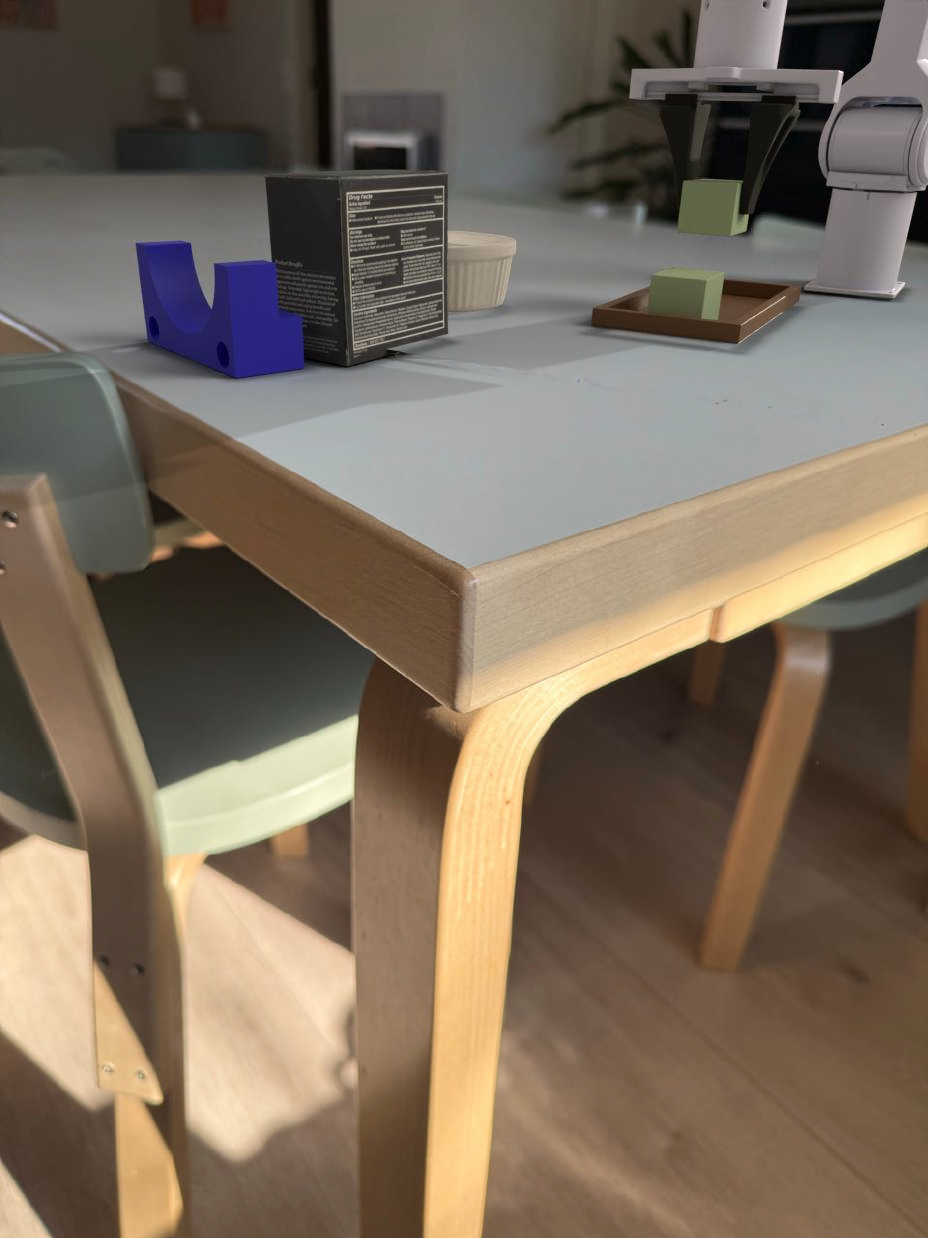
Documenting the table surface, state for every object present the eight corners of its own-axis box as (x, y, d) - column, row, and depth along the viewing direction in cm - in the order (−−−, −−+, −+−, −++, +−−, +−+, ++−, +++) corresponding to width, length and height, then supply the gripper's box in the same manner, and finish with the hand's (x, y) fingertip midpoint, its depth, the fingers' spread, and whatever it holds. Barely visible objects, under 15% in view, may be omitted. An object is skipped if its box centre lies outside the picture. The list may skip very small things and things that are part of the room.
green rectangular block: (666, 315, 73) (671, 266, 71) (717, 321, 71) (725, 271, 69) (645, 325, 69) (650, 274, 67) (699, 331, 67) (706, 279, 65)
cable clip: (304, 368, 57) (299, 261, 54) (236, 378, 54) (226, 266, 51) (210, 333, 65) (202, 239, 62) (147, 340, 62) (135, 242, 59)
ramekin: (356, 315, 72) (354, 241, 70) (392, 293, 82) (391, 227, 79) (502, 324, 71) (505, 248, 68) (520, 300, 80) (524, 233, 78)
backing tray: (677, 294, 86) (680, 273, 85) (797, 307, 81) (802, 285, 80) (590, 333, 69) (592, 307, 68) (737, 352, 64) (741, 324, 63)
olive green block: (695, 227, 75) (701, 178, 73) (746, 231, 73) (754, 181, 71) (676, 232, 71) (683, 180, 69) (730, 236, 69) (738, 183, 67)
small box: (377, 328, 68) (375, 165, 63) (451, 341, 65) (455, 170, 60) (270, 352, 60) (258, 168, 55) (349, 368, 57) (343, 174, 52)
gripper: (624, -9, 65) (604, 207, 71) (846, -15, 59) (804, 221, 65) (656, 3, 70) (635, 203, 77) (862, -2, 64) (821, 215, 71)
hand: (714, 211), depth 71 cm, fingers closed on olive green block, 4 cm apart
